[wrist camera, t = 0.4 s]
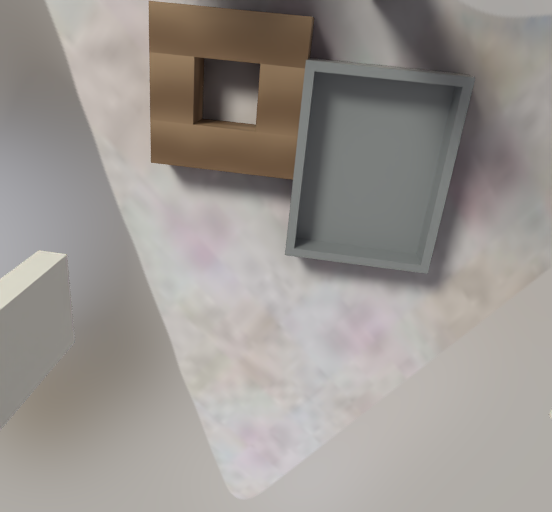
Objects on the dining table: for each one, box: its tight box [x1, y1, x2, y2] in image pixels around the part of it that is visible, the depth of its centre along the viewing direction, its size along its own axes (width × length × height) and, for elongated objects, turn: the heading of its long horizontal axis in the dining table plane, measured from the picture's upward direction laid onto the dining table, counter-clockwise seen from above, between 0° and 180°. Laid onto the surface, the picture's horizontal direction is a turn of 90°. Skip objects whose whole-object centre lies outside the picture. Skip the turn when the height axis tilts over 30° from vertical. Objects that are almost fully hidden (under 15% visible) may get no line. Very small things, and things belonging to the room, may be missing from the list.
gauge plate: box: [149, 1, 314, 180], centre depth 33 cm, size 10×10×2 cm
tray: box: [285, 58, 475, 274], centre depth 34 cm, size 13×10×3 cm
